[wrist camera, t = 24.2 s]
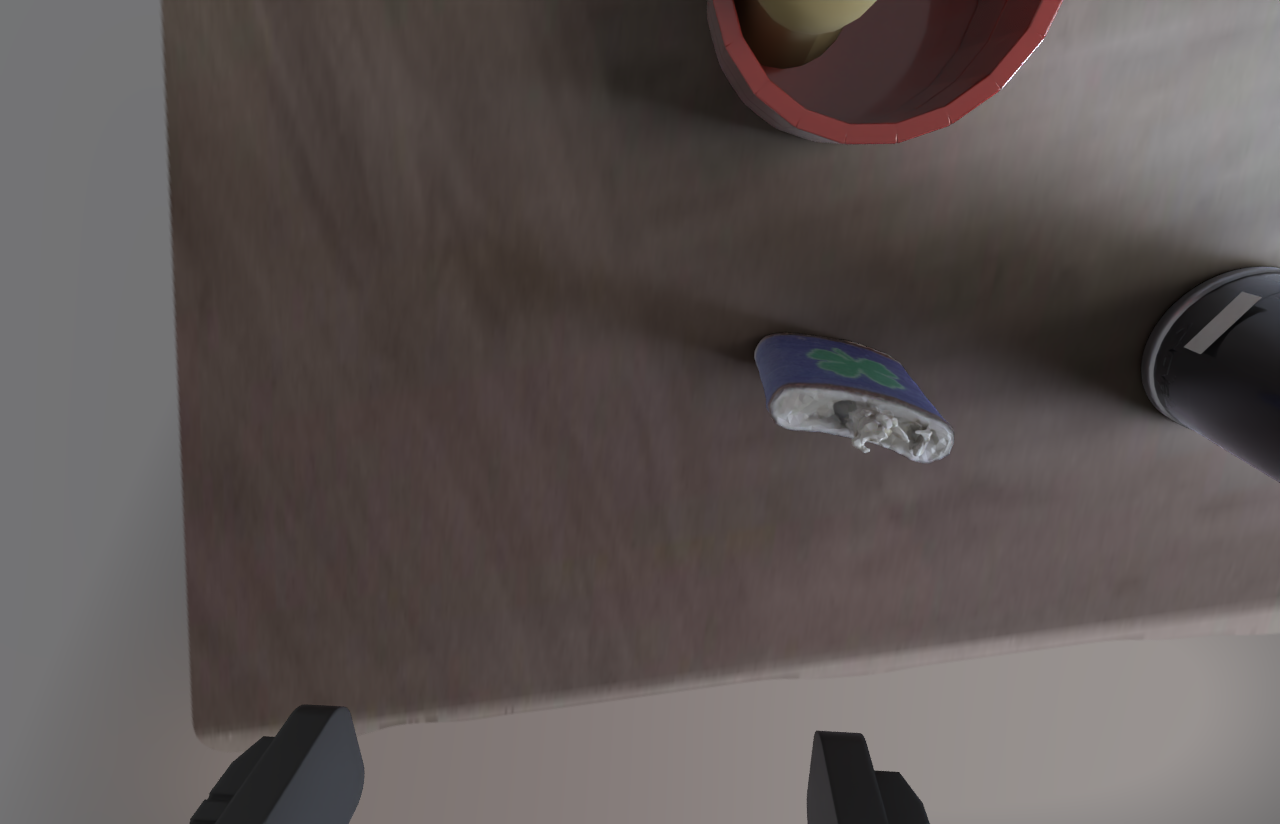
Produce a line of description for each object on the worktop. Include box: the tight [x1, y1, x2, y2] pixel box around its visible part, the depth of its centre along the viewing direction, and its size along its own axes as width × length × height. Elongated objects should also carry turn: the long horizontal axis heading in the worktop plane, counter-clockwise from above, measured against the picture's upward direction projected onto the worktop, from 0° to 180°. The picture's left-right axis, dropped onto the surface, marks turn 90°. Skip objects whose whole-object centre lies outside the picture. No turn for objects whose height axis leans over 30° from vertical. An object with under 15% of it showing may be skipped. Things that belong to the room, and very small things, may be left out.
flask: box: [754, 332, 954, 463], centre depth 34 cm, size 9×3×11 cm, turn 77°
